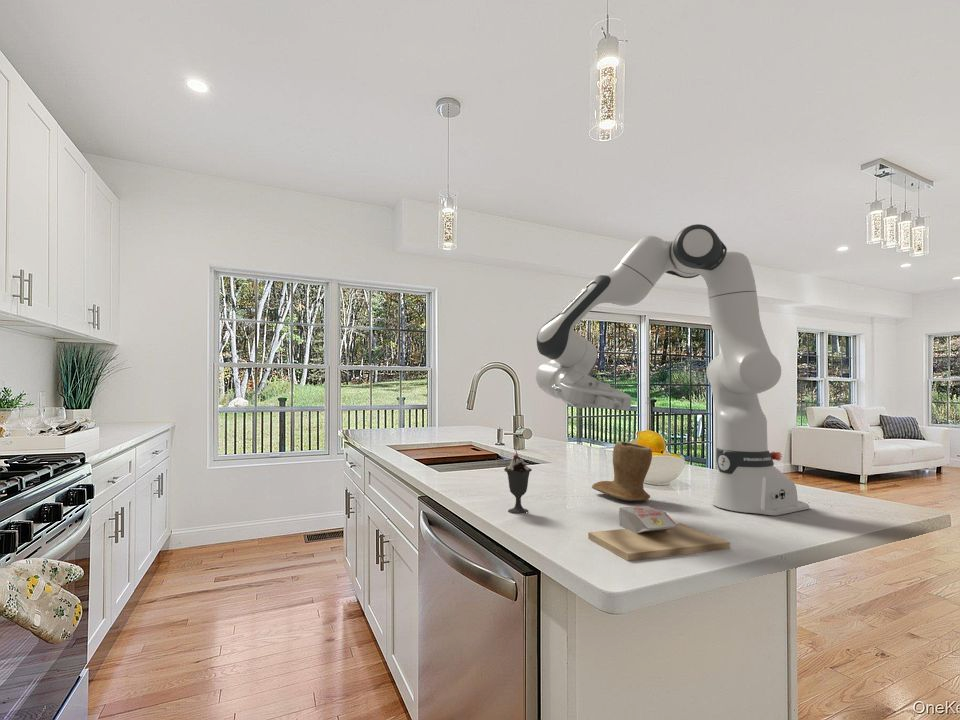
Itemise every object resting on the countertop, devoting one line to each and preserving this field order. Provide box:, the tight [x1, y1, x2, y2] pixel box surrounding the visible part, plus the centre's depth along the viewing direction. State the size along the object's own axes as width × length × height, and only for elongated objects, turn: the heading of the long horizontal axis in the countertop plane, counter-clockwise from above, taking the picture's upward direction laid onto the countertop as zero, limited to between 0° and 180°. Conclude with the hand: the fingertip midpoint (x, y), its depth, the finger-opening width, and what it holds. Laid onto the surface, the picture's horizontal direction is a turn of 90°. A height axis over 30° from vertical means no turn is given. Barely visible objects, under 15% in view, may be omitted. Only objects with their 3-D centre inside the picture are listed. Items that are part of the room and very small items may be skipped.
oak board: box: [587, 522, 731, 562], centre depth 99 cm, size 22×14×1 cm, turn 108°
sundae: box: [504, 447, 533, 514], centre depth 124 cm, size 7×7×15 cm
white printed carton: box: [618, 505, 679, 534], centre depth 104 cm, size 4×7×10 cm
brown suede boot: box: [591, 440, 653, 502], centre depth 139 cm, size 15×12×15 cm
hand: (617, 406), depth 121 cm, fingers closed
